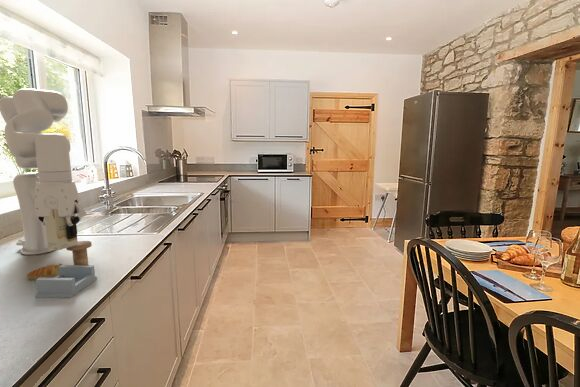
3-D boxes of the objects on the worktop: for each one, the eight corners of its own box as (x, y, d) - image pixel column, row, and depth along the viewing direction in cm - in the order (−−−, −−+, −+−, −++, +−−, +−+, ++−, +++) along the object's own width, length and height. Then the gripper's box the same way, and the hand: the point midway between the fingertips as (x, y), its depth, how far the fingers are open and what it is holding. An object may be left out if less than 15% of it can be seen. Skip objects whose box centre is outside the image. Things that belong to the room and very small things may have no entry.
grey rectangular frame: (35, 297, 86) (33, 281, 85) (65, 278, 98) (63, 264, 97) (71, 297, 86) (69, 281, 85) (96, 278, 98) (95, 264, 97)
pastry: (23, 283, 94) (22, 272, 94) (32, 275, 100) (30, 264, 100) (60, 279, 98) (58, 268, 97) (66, 271, 104) (64, 260, 103)
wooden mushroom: (64, 276, 99) (60, 247, 97) (78, 267, 106) (75, 240, 104) (85, 276, 99) (82, 247, 97) (98, 267, 106) (95, 240, 104)
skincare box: (59, 250, 86) (54, 209, 84) (47, 249, 87) (42, 208, 85) (79, 243, 92) (75, 204, 90) (67, 242, 93) (63, 204, 91)
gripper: (13, 178, 82) (22, 241, 85) (77, 179, 83) (83, 242, 86) (35, 175, 90) (43, 233, 93) (93, 176, 90) (99, 234, 93)
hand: (62, 237), depth 89 cm, fingers closed on skincare box, 5 cm apart
